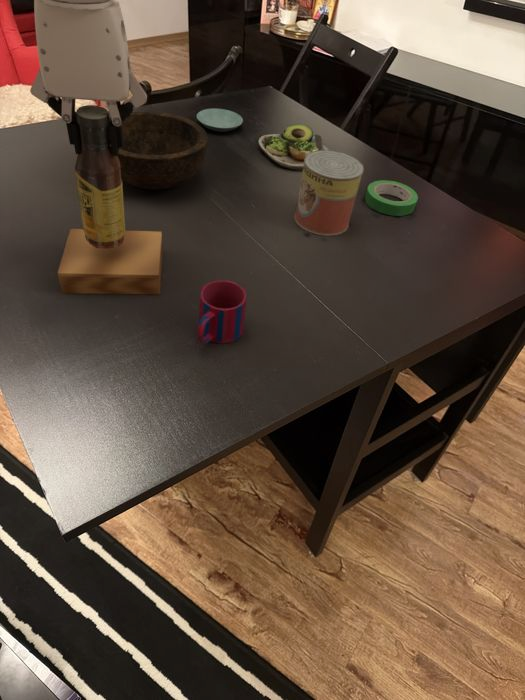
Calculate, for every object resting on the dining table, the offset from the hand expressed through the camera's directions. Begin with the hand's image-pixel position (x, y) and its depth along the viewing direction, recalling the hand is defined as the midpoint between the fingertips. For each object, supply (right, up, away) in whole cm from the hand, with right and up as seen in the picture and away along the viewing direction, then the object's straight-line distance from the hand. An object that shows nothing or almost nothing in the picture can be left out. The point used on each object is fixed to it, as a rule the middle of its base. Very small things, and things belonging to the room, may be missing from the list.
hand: (98, 149), depth 65 cm
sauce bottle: (-2, -10, +11) cm, 15 cm away
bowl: (-1, +9, +37) cm, 38 cm away
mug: (+15, -25, +7) cm, 30 cm away
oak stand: (-2, -14, +15) cm, 21 cm away
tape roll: (+50, +5, +41) cm, 65 cm away
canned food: (+34, -1, +33) cm, 48 cm away
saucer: (+11, +31, +59) cm, 67 cm away
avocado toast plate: (+30, +21, +53) cm, 65 cm away
